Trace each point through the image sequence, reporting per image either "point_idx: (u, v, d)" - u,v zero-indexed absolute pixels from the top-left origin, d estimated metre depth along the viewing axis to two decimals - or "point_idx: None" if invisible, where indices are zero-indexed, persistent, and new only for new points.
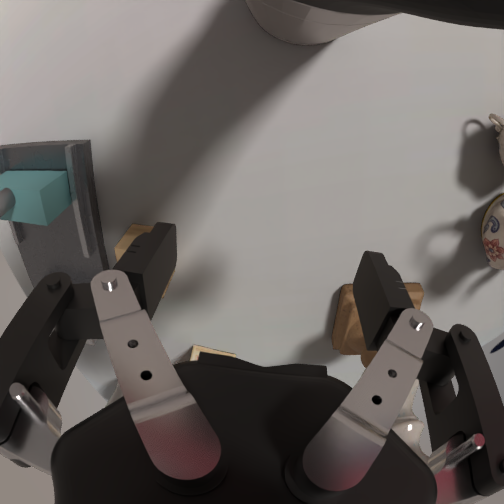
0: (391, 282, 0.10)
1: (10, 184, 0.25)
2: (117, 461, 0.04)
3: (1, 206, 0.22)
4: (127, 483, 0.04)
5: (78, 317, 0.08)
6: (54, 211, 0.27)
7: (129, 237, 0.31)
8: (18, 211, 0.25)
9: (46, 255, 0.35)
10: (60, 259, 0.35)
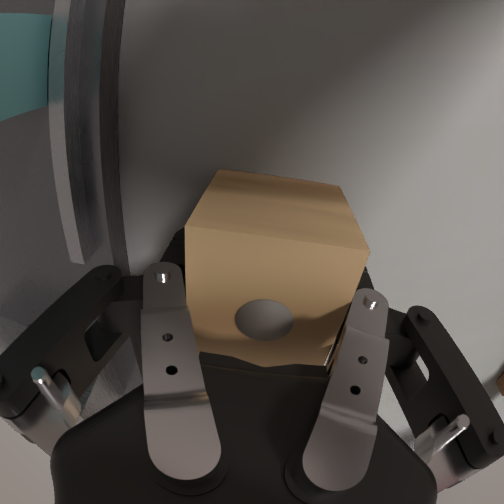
0: None
1: None
2: (117, 461, 0.04)
3: None
4: (127, 483, 0.04)
5: (129, 309, 0.09)
6: None
7: (230, 197, 0.10)
8: None
9: None
10: (21, 268, 0.14)
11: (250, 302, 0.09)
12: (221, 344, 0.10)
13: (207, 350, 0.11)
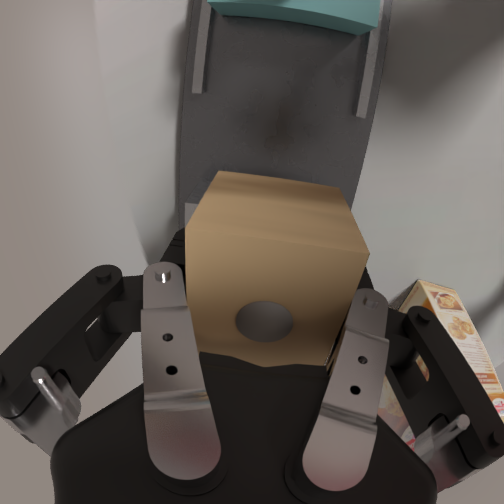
0: None
1: None
2: (117, 461, 0.04)
3: None
4: (127, 483, 0.04)
5: (129, 309, 0.09)
6: None
7: (230, 199, 0.10)
8: None
9: (253, 119, 0.23)
10: (285, 126, 0.24)
11: (250, 304, 0.09)
12: (221, 345, 0.10)
13: (207, 351, 0.11)
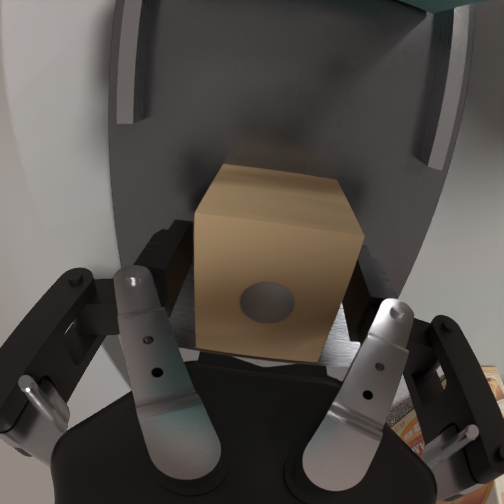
0: (373, 273, 0.10)
1: None
2: (117, 461, 0.04)
3: None
4: (127, 483, 0.04)
5: (100, 312, 0.08)
6: None
7: (235, 189, 0.10)
8: None
9: None
10: None
11: (254, 285, 0.10)
12: (226, 327, 0.11)
13: (213, 334, 0.11)
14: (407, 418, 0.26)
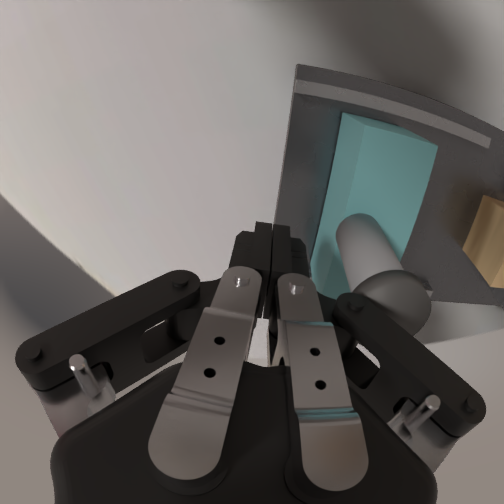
0: (285, 250, 0.11)
1: (333, 231, 0.16)
2: (117, 461, 0.04)
3: (370, 235, 0.12)
4: (127, 483, 0.04)
5: None
6: (412, 134, 0.13)
7: (482, 259, 0.18)
8: (392, 219, 0.14)
9: None
10: None
11: None
12: None
13: None
14: None
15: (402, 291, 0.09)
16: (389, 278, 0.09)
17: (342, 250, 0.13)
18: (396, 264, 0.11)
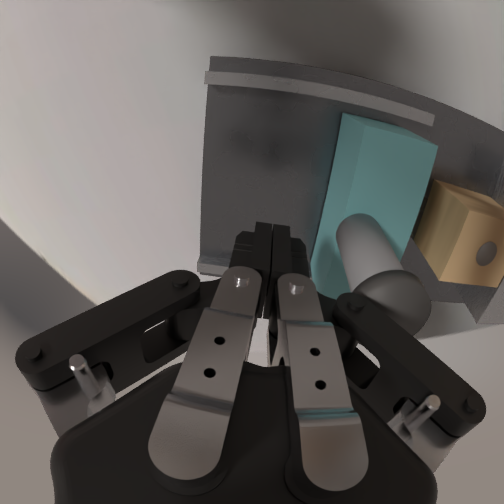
0: (285, 250, 0.11)
1: (333, 231, 0.16)
2: (117, 461, 0.04)
3: (371, 236, 0.12)
4: (127, 483, 0.04)
5: None
6: (412, 134, 0.13)
7: (431, 250, 0.18)
8: (392, 220, 0.14)
9: None
10: None
11: (476, 259, 0.15)
12: (491, 272, 0.16)
13: (493, 278, 0.16)
14: None
15: (402, 291, 0.09)
16: (389, 278, 0.09)
17: (342, 250, 0.13)
18: (396, 264, 0.11)
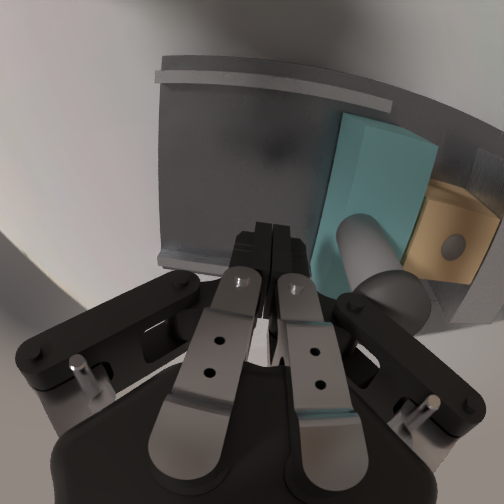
0: (285, 250, 0.11)
1: (333, 231, 0.16)
2: (117, 461, 0.04)
3: (370, 236, 0.12)
4: (127, 483, 0.04)
5: None
6: (412, 135, 0.13)
7: None
8: (392, 220, 0.14)
9: None
10: None
11: (441, 253, 0.15)
12: (462, 267, 0.16)
13: (464, 274, 0.16)
14: None
15: (402, 291, 0.09)
16: (389, 278, 0.09)
17: (342, 250, 0.13)
18: (396, 264, 0.11)
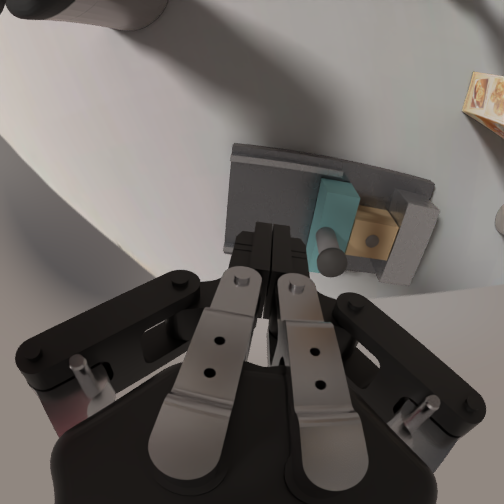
0: (285, 250, 0.11)
1: (315, 234, 0.37)
2: (117, 461, 0.04)
3: (328, 236, 0.33)
4: (127, 483, 0.04)
5: None
6: (351, 191, 0.34)
7: None
8: (340, 229, 0.35)
9: None
10: None
11: (365, 244, 0.36)
12: (379, 251, 0.37)
13: (381, 255, 0.37)
14: (503, 138, 0.31)
15: (334, 254, 0.30)
16: (330, 250, 0.30)
17: (317, 242, 0.34)
18: (335, 246, 0.32)
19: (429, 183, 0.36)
